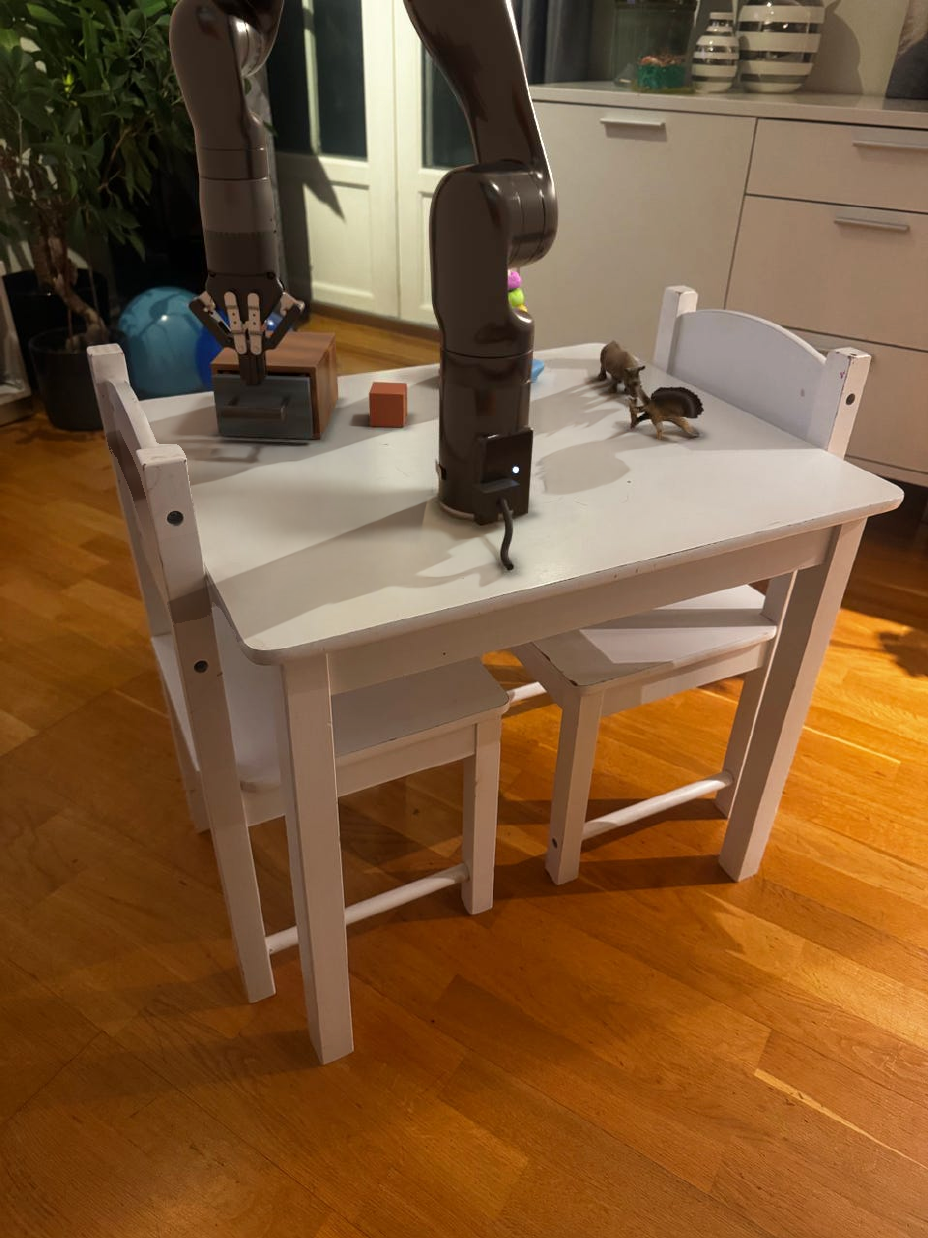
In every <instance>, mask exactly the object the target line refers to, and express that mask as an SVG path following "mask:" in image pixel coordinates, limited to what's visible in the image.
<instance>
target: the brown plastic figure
mask: <svg viewBox="0 0 928 1238" xmlns="http://www.w3.org/2000/svg"><path fill="white" fill-rule="evenodd" d="M636 392H637V396H638V397H637V398H633V397H628V400H629V401H630V402H629V403H628V408H629V410H628V412H629V413H630V422H631V423H630V426H629V428H630V429H631V430H632V429H635V427H637V426H638V425H639V424H640V423H642V422H643V421H648V420H650V421H651V423H652V425H653V426H654V428H655V430H656V433H657V439H658V440H661V439H662V437H663V433H664V422H669V423H671V424H673V425H675V426H677V427H678V428H681V429H682V430H683V431H684V432H686V433H687V434H688V435H690V436H691V437H696V438H697V437H700V435H701V433H700V432H699V430H697V429H696V428H694V427H693V426H692V425H691V423H690V422H689V421H688V420H687V419H690V420H691V419H693V420H694V419H698V417H699V416H701V415H702V413H703V412H705V409H704V407H703V405H704V404H703V402H702V401H701V398H699V395H698V394H696V393H695V392H694V391H692V390H691V389H689V388H686V387H685V386H670V387H665V386H660V387H658V388H657V389H656V390H654V391H653V392H651V395H650V397H649V396H648V395H647V394H646V392H645V390H644V389H643V387H642V388H636ZM638 399H639V401H640V402H641V403H642V405H640V406H638ZM641 413H642V414H641ZM638 414H641V415H639V416H638Z"/></svg>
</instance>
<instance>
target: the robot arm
mask: <svg viewBox="0 0 928 1238" xmlns="http://www.w3.org/2000/svg"><path fill="white" fill-rule="evenodd" d="M402 3H403V6H404V8H405V11H406V14H407V16H408V19H409V21H410V23H411V26H412V27H413V29H414V30H415V33H416V35H417V37H418V39H419V40H420V42H421V43H422V45H423V47H424V48H425V50H426V52H427V53H428V55H429V57H430V58H431V59H432V61H433V62H434V64H435V66H436V67H437V69H438V70H439V72H440V73H441V75H442V76H443V77H444V79H445V81H446V82H447V84H448V86H449V87H450V89H451V91H452V92H453V94H454V96H455V98H456V100H457V102H458V105H459V106H460V108H461V110H462V113H463V116H464V118H465V121H466V125H467V128H468V132H469V135H470V139H471V145H472V150H473V154H474V159H475V163H473V164H466V165H460V166H457V167H455V168H451V169H450V170H448V171H447V172H446V173H445V174H444V175H442V177H441V178H440V179H439V181H438V183H437V184H436V186H435V189H434V192H433V194H432V196H431V197H432V199H431V202H430V207H429V216H428V249H429V268H430V272H429V273H430V289H431V290H430V291H431V292H430V293H431V296H430V297H431V305H432V311H433V314H434V318H435V320H436V323H437V326H438V331H439V368H440V373H438V375H439V376H438V380H439V381H438V460H437V459H435V462H434V463H435V464H434V465H435V472H436V474H437V477H438V490H437V491H438V492H437V499H436V500H437V502H436V503H437V506H438V508H439V509H440V510H441V511H442V512H443V513H444V514H446V515H448V516H450V517H452V518H455V519H457V520H460V521H461V520H462V521H464V522H465V521H466V522H471V523H475V524H476V525H478V526H480V527H484V526H487V525H491V524H494V523H499V522H502V521H503V522H504V535H503V539H502V543H501V546H500V551H499V557H500V560H501V561H500V562H501V563H502V565H503V566H504V567H505V569H506V571H509V572H510V571H513V570H514V569H515V565H514V562H513V561H512V560H511V559H510V557H509V556H510V555H509V551H510V547H511V544H512V543H511V542H512V540H513V534H514V524H513V523H514V522H513V518H516V517H520V516H524V515H527V514H529V507H530V506H529V505H530V493H531V492H530V491H531V479H532V478H531V476H532V464H533V463H532V461H533V446H534V429H533V428H532V427H531V426H530V425H529V424H530V409H531V392H532V391H531V390H532V382H531V378H532V377H531V376H532V364H533V358H534V348H535V347H534V346H535V333H536V331H535V329H536V328H535V327H536V325H535V320H534V318H533V316H532V315H531V314H530V313H529V312H528V311H527V312H526V311H524V310H522V309H520V308H517V307H513V306H511V305H510V303H509V295H508V270H511V269H512V270H515V269H518V268H523V267H526V266H530V265H534V264H535V263H538V262H539V261H541V260H542V259H544V257H546V256H547V254H548V253H549V252H550V250H551V249H552V247H553V244H554V242H555V240H556V237H557V233H558V227H559V202H558V197H557V196H558V195H557V191H556V186H555V182H554V177H553V173H552V169H551V165H550V162H549V159H548V155H547V151H546V149H545V148H546V147H545V144H544V141H543V136H542V134H541V130H540V126H539V122H538V119H537V115H536V112H535V108H534V103H533V99H532V95H531V92H530V86H529V83H528V78H527V74H526V67H525V62H524V57H523V51H522V46H521V42H520V37H519V36H520V35H519V30H518V26H517V21H516V17H515V11H514V7H513V1H512V0H402ZM284 5H285V0H178V1H177V3H176V4H175V6H174V8H173V11H172V14H171V16H170V23H169V31H168V32H169V33H168V36H169V38H168V40H169V50H170V56H171V62H172V65H173V69H174V73H175V76H176V80H177V83H178V85H179V88H180V92H181V95H182V97H183V98H182V99H183V101H184V106H185V108H186V111H187V113H188V116H189V119H190V122H191V123H192V127H193V131H194V141H195V142H194V144H195V154H196V161H197V169H198V174H199V176H198V179H199V180H198V181H199V208H200V216H201V217H200V218H201V223H202V224H201V225H202V232H203V239H204V241H203V242H204V249H205V258H206V265H207V267H206V268H207V272H208V273H207V279H206V282H205V285H204V287H205V291H203V292H202V293H201V294H200V295H197V296H196V297H194V298H193V299H192V300H191V301H190V302H189V303H188V309H189V311H190V312H191V313H192V314H193V315H194V316H195V317H196V319H197V320H198V321H199V323H201V324H202V326H203V327H204V328H205V329H206V331H208V333H209V334H210V335H211V336H212V337H213V339H214V340H215V341H216V342H217V343H218V344H219V345H220V346H221V347H222V348H223V349H224V348H227V347H229V348H231V349H233V350H235V351H236V352H237V354H238V362H239V371H240V377H241V379H242V381H246V385H247V386H260V385H261V383H262V381H264V380H265V378H266V376H267V363H266V351H267V350H274V349H275V348H276V347H277V346H278V344H279V343H280V342H281V340H282V339H283V338H284V336H285V335H286V333H287V332H288V331H290V329H291V328H292V327H293V325H294V324H295V323H296V321H297V319H299V317H300V315H302V313H303V311H304V310H305V308H306V305H305V302H304V301H303V300H302V299H296V298H294V297H293V296H291V294H289V293H288V292H286V285H285V282H284V281H283V280H282V277H281V274H280V265H279V263H280V261H279V251H278V239H277V225H276V223H277V215H276V214H277V213H276V210H275V202H274V201H275V200H274V195H273V190H272V185H271V179H270V168H269V166H270V165H269V154H268V147H267V146H268V143H267V135H266V129H265V125H264V121H263V119H262V117H260V115H259V114H258V113H256V112H255V111H253V110H251V109H250V108H249V104H248V100H247V95H246V91H245V86H244V82H243V79H247V78H250V77H251V76H253V75H254V74H256V73H257V72H258V71H260V69H262V67H263V66H264V64H265V63H266V61H267V59H268V58H269V56H270V54H271V51H272V49H273V46H274V44H275V42H276V38H277V34H278V30H279V26H280V22H281V17H282V14H283V13H282V12H283V8H284ZM278 304H281V306H280V308H279V311H280V315H281V316H282V319H281V320H280V322H278V324H277V326H276V327H275V329H274V330H273V331H274V332H273V333H272V334H271V335H269V336H266V331H267V327H268V319H269V318H270V317H271V315H272V314H273V312H274V311H275V309H276V307H277V306H278ZM216 307H218V309H219V310H220V311H221V313H223V315H224V316H225V317H226V318H227V319H228V321H229V325H228V324H227V323H226V322H225V320H224V319H223V318H222V317H221V316H220V314H218V312H217V311H216ZM229 326H230V327H229Z"/></svg>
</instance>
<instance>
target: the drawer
mask: <svg viewBox="0 0 928 1238" xmlns="http://www.w3.org/2000/svg"><path fill="white" fill-rule="evenodd" d="M211 385H212V393H213V402H214V408H215V415H216V424H217V430H218V436H220V437H243V436H244V437H245V438H270V437H272V439H273V438H274V439H297V438H299V439H301V440H313V439H312V438H313V436H314V433H313V415H312V401H311V386H310V373H289V372H267V376H266V378H265V380H264V381H262V383H261V385H260V386H247V385H246V381H242V379H241V377H240V371H232V370H224V372H223V374H213V376H212V375H211ZM244 437H243V438H244ZM299 439H298V440H299Z"/></svg>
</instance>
